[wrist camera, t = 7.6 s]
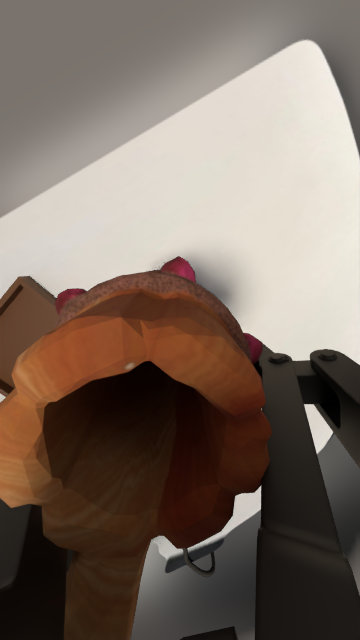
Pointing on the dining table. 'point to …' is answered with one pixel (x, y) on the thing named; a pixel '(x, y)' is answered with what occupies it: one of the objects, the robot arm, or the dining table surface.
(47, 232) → the dining table surface
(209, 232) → the dining table surface
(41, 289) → the tray
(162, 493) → the mug
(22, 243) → the dining table surface
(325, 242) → the dining table surface
